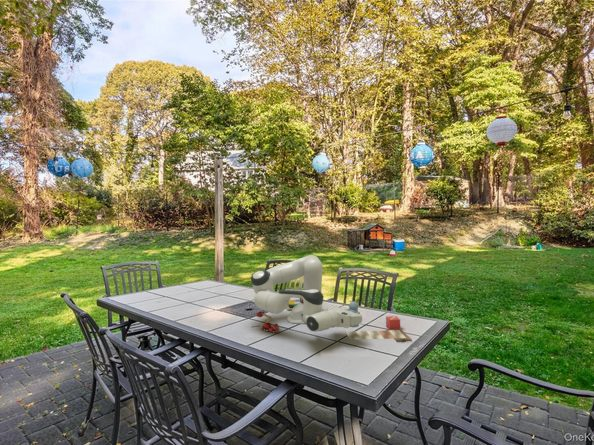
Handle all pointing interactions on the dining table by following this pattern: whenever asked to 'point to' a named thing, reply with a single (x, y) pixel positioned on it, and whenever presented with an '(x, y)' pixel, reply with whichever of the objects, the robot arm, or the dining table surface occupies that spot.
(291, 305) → the wooden puzzle
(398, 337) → the game track
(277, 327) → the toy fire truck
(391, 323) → the red die
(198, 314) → the dining table surface
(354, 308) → the pawn
